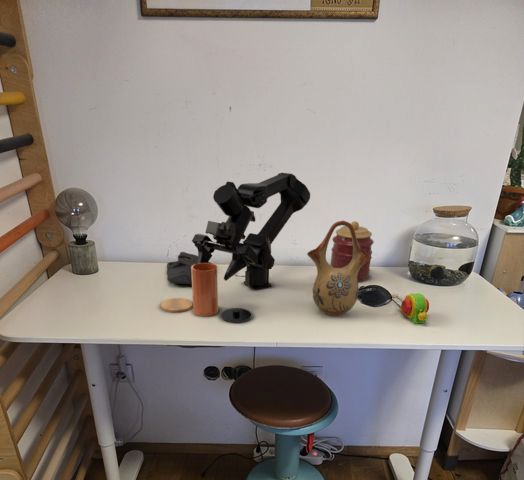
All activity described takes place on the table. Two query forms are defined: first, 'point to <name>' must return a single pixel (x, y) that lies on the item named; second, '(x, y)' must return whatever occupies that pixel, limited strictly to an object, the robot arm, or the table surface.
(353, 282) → the ceramic vessel
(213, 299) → the pot
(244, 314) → the lid
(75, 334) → the table surface
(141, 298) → the table surface
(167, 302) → the coaster
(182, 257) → the dark slate chunk
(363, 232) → the kitchen canister
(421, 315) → the toy measuring tape
